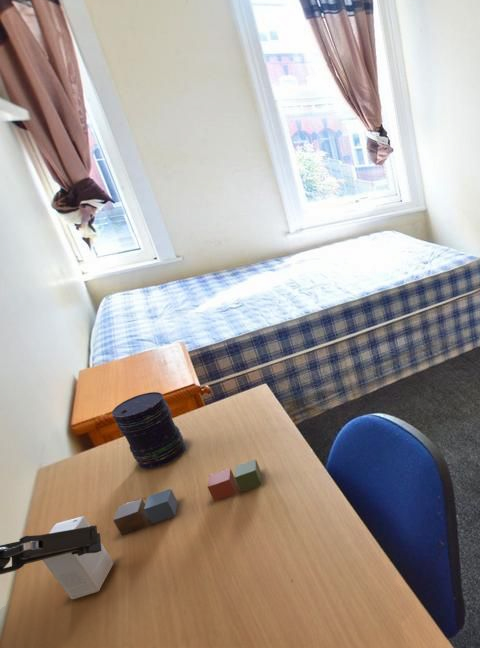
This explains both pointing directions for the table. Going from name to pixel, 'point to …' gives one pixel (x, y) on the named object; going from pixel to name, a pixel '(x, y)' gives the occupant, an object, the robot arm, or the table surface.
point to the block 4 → (248, 475)
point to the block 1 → (131, 516)
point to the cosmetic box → (79, 565)
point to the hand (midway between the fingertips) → (43, 562)
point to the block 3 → (222, 484)
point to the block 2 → (161, 506)
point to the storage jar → (149, 430)
